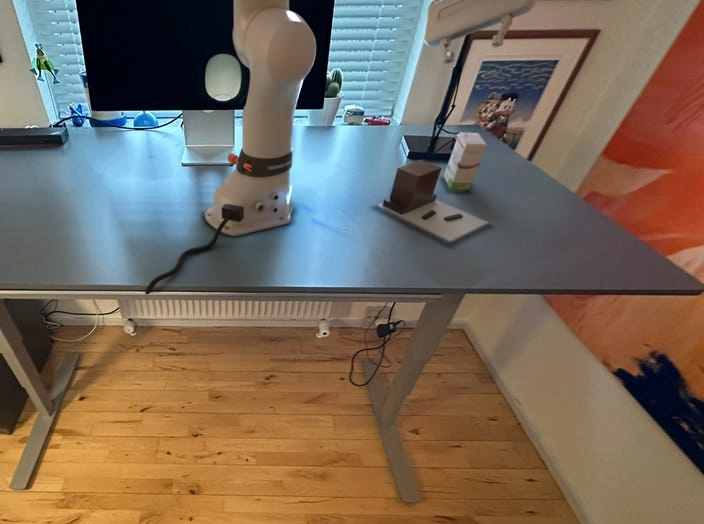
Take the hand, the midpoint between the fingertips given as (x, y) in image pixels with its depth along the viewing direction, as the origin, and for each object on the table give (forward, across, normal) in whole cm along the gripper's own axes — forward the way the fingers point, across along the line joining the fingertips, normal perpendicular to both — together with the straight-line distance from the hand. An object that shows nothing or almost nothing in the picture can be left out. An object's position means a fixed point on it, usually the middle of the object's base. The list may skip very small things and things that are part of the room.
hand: (471, 54), depth 87 cm
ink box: (+24, -7, +17) cm, 30 cm away
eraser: (+29, -10, -1) cm, 31 cm away
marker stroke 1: (+32, -4, -3) cm, 33 cm away
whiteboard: (+32, -5, -2) cm, 33 cm away
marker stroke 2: (+33, 0, 0) cm, 33 cm away
